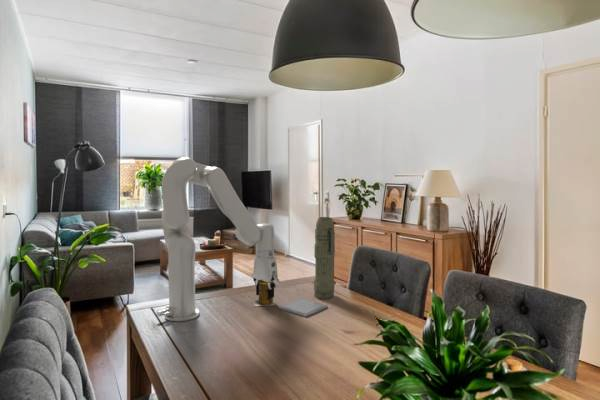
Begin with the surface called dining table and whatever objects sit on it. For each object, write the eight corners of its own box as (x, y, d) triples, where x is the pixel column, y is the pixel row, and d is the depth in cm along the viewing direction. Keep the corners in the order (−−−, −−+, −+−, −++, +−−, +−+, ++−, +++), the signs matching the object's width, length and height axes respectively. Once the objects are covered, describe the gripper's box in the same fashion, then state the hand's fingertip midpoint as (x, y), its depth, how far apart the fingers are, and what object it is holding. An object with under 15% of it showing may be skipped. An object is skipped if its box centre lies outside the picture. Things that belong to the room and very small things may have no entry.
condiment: (275, 305, 158) (275, 276, 157) (254, 306, 156) (254, 277, 155) (272, 299, 165) (272, 272, 164) (252, 301, 163) (252, 273, 162)
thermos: (321, 290, 177) (322, 215, 175) (340, 297, 168) (341, 218, 166) (307, 294, 172) (308, 217, 169) (326, 301, 163) (327, 219, 160)
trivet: (305, 317, 144) (305, 315, 144) (278, 309, 153) (278, 306, 153) (327, 307, 155) (327, 305, 155) (301, 300, 164) (301, 298, 164)
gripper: (286, 254, 156) (286, 298, 157) (256, 249, 167) (257, 289, 168) (273, 258, 150) (273, 303, 151) (243, 252, 161) (244, 294, 163)
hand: (265, 295), depth 160 cm, fingers closed on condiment, 6 cm apart
